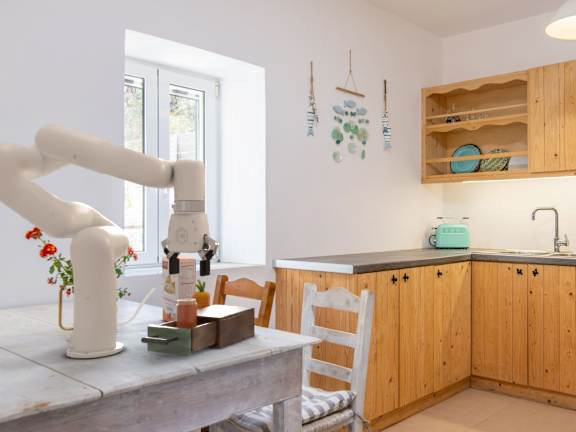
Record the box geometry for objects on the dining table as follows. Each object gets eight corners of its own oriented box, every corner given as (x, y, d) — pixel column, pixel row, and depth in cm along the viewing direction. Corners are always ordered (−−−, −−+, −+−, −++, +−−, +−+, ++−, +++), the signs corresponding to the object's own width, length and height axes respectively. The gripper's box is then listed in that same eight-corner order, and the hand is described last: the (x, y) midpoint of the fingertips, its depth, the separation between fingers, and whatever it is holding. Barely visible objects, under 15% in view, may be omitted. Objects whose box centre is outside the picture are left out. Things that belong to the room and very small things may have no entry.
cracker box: (161, 320, 172) (161, 256, 171) (179, 317, 176) (179, 255, 175) (177, 327, 161) (177, 259, 161) (196, 324, 165) (196, 258, 165)
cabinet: (219, 348, 137) (219, 317, 136) (177, 344, 141) (177, 313, 141) (254, 335, 151) (254, 307, 151) (215, 331, 156) (215, 304, 156)
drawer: (173, 361, 122) (173, 334, 122) (132, 355, 126) (132, 329, 126) (225, 342, 140) (225, 318, 140) (188, 338, 144) (188, 315, 144)
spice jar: (171, 344, 133) (171, 300, 133) (185, 339, 138) (185, 297, 138) (187, 345, 132) (187, 301, 131) (201, 341, 136) (201, 298, 136)
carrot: (210, 330, 158) (210, 280, 158) (192, 331, 156) (192, 281, 156) (209, 326, 162) (209, 278, 162) (192, 328, 161) (192, 279, 160)
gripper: (151, 208, 134) (151, 275, 134) (207, 208, 128) (207, 278, 128) (173, 208, 141) (173, 272, 141) (226, 208, 135) (226, 274, 135)
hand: (189, 274), depth 135 cm, fingers open, 9 cm apart
